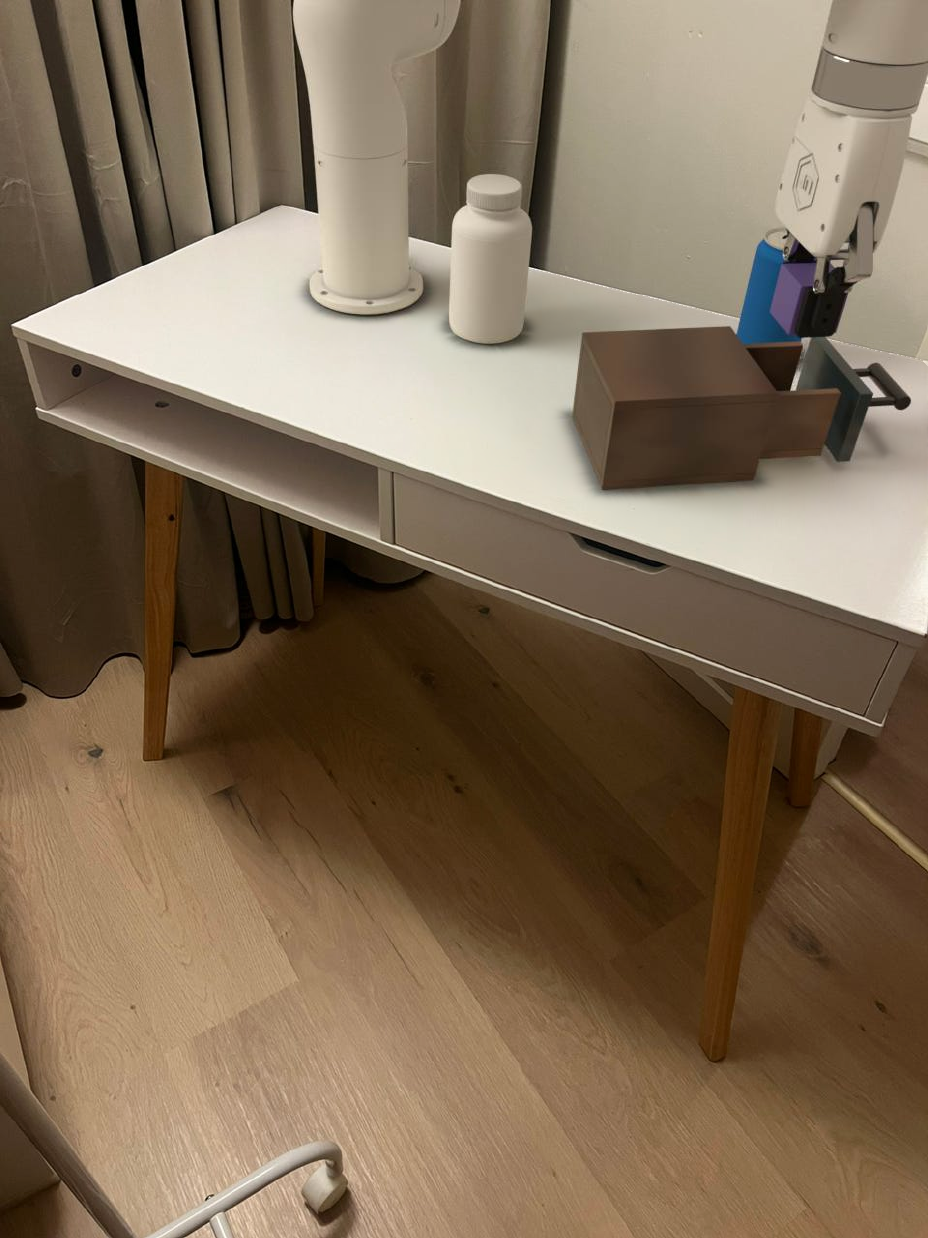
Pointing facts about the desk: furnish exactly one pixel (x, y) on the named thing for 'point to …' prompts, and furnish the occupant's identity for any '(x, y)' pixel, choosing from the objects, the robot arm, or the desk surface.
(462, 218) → the pill bottle
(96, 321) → the desk surface
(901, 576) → the desk surface
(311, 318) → the desk surface
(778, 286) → the block
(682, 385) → the wooden drawer cabinet
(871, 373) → the drawer
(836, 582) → the desk surface
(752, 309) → the beverage can
